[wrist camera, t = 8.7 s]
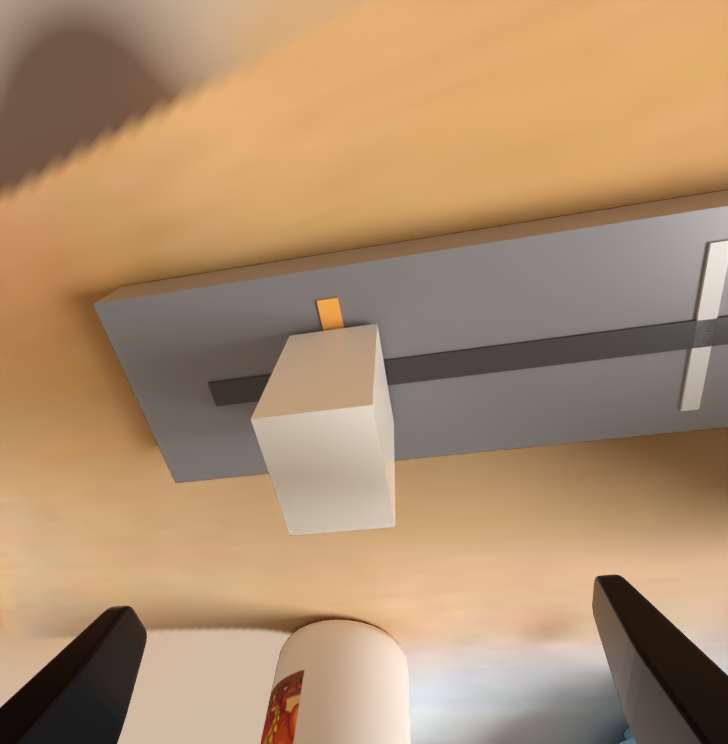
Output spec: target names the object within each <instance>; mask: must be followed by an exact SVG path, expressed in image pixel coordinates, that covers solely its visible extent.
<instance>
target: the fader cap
mask: <svg viewBox="0 0 728 744" xmlns="http://www.w3.org/2000/svg"><path fill="white" fill-rule="evenodd" d="M251 422H252V425H253V428H254V431H255V434H256V437H257V440H258V442H259V445H260V448H261V451H262V454H263V457H264V460H265V463H266V466H267V469H268V472H269V475H270V478H271V481H272V484H273V487H274V490H275V493H276V496H277V499H278V501H279V504H280V507H281V510H282V513H283V516H284V519H285V522H286V525H287V528H288V531H289V534H290V536H293V535H305V534H317V533H328V532H340V531H352V530H364V529H376V528H388V527H395V464H394V420H393V415H392V409H391V403H390V397H389V391H388V385H387V379H386V373H385V367H384V361H383V355H382V349H381V343H380V337H379V331H378V325H377V324H371V325H363V326H356V327H349V328H342V329H335V330H327V331H320V332H313V333H306V334H298V335H291V336H289V338H288V340H287V342H286V344H285V347H284V349H283V351H282V353H281V355H280V357H279V359H278V362H277V364H276V366H275V368H274V370H273V372H272V374H271V377H270V379H269V381H268V383H267V385H266V387H265V389H264V392H263V394H262V396H261V398H260V400H259V402H258V404H257V407H256V409H255V411H254V413H253V415H252V417H251Z"/></svg>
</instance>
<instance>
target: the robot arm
mask: <svg viewBox="0 0 728 744" xmlns="http://www.w3.org/2000/svg"><path fill="white" fill-rule="evenodd" d="M592 608H593V614H594V619H595V622H596V625H597V628H598V632H599V635H600V638H601V641H602V644H603V648H604V651H605V654H606V657H607V661H608V664H609V667H610V670H611V674H612V677H613V680H614V683H615V686H616V690H617V693H618V696H619V699H620V702H621V705H622V708H623V711H624V714H625V717H626V719H627V722H628V724H629V727H630V729H631V732H632V734H633V737H634V739H635V741H636V744H728V675H727V674H726V673H725V672H723V671H722V670H721V669H720V668H719V667H718V666H717V665H716V664H715V663H714V662H713V661H712V660H711V659H710V658H709V657H707V656H706V655H705V654H704V653H703V652H702V651H701V650H700V649H699V648H698V647H697V646H696V645H695V644H694V643H693V642H691V641H690V640H689V639H688V638H687V637H686V636H685V635H684V634H683V633H682V632H681V631H680V630H679V629H678V628H677V627H675V626H674V625H673V624H672V623H671V622H670V621H669V620H668V619H667V618H666V617H665V616H664V615H663V614H662V613H661V612H659V611H658V610H657V609H656V608H655V607H654V606H653V605H652V604H651V603H650V602H649V601H648V600H647V599H646V598H645V597H643V596H642V595H641V594H640V593H639V592H638V591H637V590H636V589H635V588H634V587H633V586H632V585H631V584H630V583H629V582H627V581H626V580H625V579H624V578H623V577H621V576H619V575H603V576H597V577H596V578H595V581H594V591H593V602H592ZM146 639H147V633H146V629H145V627H144V626H143V624H142V623H141V621H140V619H139V618H138V616H137V614H136V613H135V611H134V610H133V608H132V607H130V606H117V607H111V608H109V609H107V610H106V611H105V612H103V613H102V614H101V615H100V616H99V617H98V618H97V619H96V620H95V621H94V622H93V623H91V624H90V625H89V626H88V627H87V628H86V629H85V630H84V631H83V632H82V633H81V634H80V635H78V636H77V637H76V638H75V639H74V640H73V641H72V642H71V643H70V644H69V645H68V646H67V647H66V648H64V649H63V650H62V651H61V652H60V653H59V654H58V655H57V656H56V657H55V658H54V659H52V660H51V661H50V662H49V663H48V664H47V665H46V666H45V667H44V668H43V669H42V670H41V671H40V672H38V673H37V674H36V675H35V676H34V677H33V678H32V679H31V680H30V681H29V682H28V683H27V684H25V686H23V687H22V688H21V689H20V690H19V691H18V692H17V693H16V694H15V695H14V696H12V697H11V698H10V699H9V700H8V701H7V702H6V703H5V704H4V705H3V706H2V707H1V708H0V744H117V742H118V739H119V736H120V734H121V730H122V727H123V724H124V721H125V718H126V714H127V711H128V707H129V704H130V700H131V696H132V692H133V689H134V685H135V682H136V678H137V674H138V670H139V667H140V663H141V659H142V656H143V652H144V648H145V645H146Z"/></svg>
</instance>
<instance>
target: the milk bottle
mask: <svg viewBox="0 0 728 744" xmlns="http://www.w3.org/2000/svg"><path fill="white" fill-rule="evenodd" d="M261 744H411V735H410V706H409V680H408V665H407V659H406V657H405V654H404V652H403V650H402V648H401V647H400V645H399V644H398V642H397V641H396V640H395V639H394V638H393V637H392V636H391V635H389V634H387V633H386V632H384V631H383V630H381V629H379V628H376V627H374V626H372V625H369V624H365V623H362V622H357V621H351V620H325V621H320V622H315V623H311V624H309V625H306V626H304V627H301V628H300V629H299V630H297V631H295V632H294V633H293V634H292V635H291V636H290V637H289V638H288V639H287V641H286V643H285V644H284V645H283V647H282V649H281V651H280V656H279V660H278V664H277V668H276V673H275V677H274V682H273V686H272V691H271V696H270V701H269V706H268V710H267V715H266V720H265V725H264V730H263V735H262V739H261Z"/></svg>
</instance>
